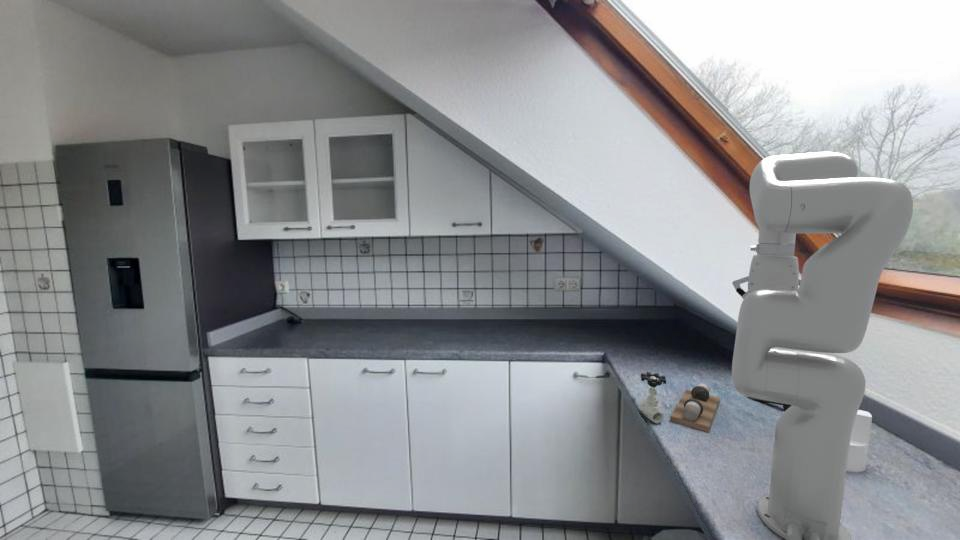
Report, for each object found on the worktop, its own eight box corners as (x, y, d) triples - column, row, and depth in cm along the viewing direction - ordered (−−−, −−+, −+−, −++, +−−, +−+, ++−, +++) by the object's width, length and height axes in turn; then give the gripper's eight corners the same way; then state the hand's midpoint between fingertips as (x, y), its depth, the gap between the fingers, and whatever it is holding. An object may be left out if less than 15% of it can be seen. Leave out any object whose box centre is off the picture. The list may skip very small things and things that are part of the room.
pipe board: (708, 432, 96) (710, 411, 96) (670, 421, 102) (671, 401, 101) (719, 402, 113) (721, 384, 112) (686, 394, 118) (687, 377, 118)
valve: (656, 412, 107) (659, 371, 106) (669, 424, 100) (671, 381, 99) (634, 412, 107) (636, 372, 105) (645, 424, 100) (647, 381, 99)
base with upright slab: (814, 462, 84) (820, 412, 83) (808, 443, 92) (812, 396, 90) (871, 477, 79) (878, 423, 78) (859, 455, 87) (865, 406, 85)
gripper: (733, 250, 99) (728, 313, 101) (821, 253, 88) (813, 324, 90) (737, 248, 105) (732, 309, 107) (820, 251, 94) (813, 318, 96)
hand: (769, 315), depth 98 cm, fingers open, 9 cm apart
